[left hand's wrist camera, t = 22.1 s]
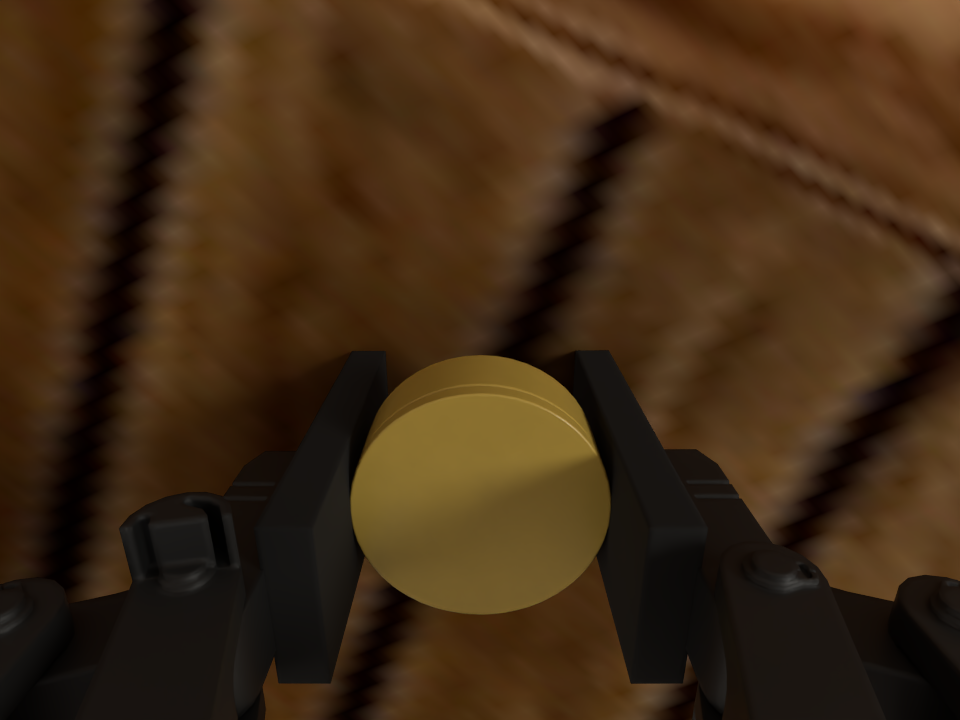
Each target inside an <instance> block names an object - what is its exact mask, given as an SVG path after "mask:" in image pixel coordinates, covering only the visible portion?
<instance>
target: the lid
mask: <svg viewBox="0 0 960 720" xmlns="http://www.w3.org/2000/svg"><path fill="white" fill-rule="evenodd" d="M350 507H351V518H352V527H353V530H354V533H355V536H356V539H357V541H358V543H359V545H360V547H361V549H362V551H363V553H364V555H365V556H366V558H367V559H368V561H369V562H370V564H371V565H372V566H373V567H374V568H375V570H376V571H377V572H378V573H379V574H380V575H381V576H382V577H383V578H384V579H385V580H386V581H388V582H389V583H390V584H391V585H392V586H393V587H395V588H396V589H398V590H399V591H401V592H402V593H404V594H405V595H407V596H409V597H411V598H413V599H415V600H417V601H419V602H421V603H424V604H427V605H429V606H432V607H435V608H439V609H442V610H446V611H450V612H457V613H463V614H480V615H481V614H498V613H504V612H511V611H515V610H519V609H523V608H526V607H529V606H532V605H534V604H537V603H540V602H542V601H544V600H546V599H548V598H550V597H552V596H554V595H556V594H557V593H559V592H560V591H562V590H563V589H565V588H566V587H568V586H569V585H570V584H571V583H572V582H574V581H575V580H576V579H577V578H578V577H579V576H580V575H581V574H582V573H583V572H584V571H585V570H586V569H587V567H588V566H589V565H590V564H591V562H592V561H593V559H594V558H595V556H596V555H597V553H598V552H599V550H600V548H601V545H602V543H603V541H604V539H605V536H606V533H607V530H608V527H609V521H610V512H611V491H610V484H609V480H608V477H607V474H606V470H605V467H604V465H603V462H602V459H601V456H600V453H599V450H598V448H597V445H596V442H595V439H594V436H593V433H592V431H591V428H590V425H589V422H588V420H587V418H586V416H585V414H584V412H583V410H582V408H581V407H580V405H579V404H578V402H577V401H576V400H575V398H574V397H573V396H572V395H571V394H570V393H569V392H568V390H567V389H566V388H565V387H564V386H562V385H561V384H560V383H559V382H558V381H556V380H555V379H554V378H552V377H551V376H549V375H548V374H546V373H544V372H543V371H541V370H539V369H537V368H535V367H533V366H531V365H528V364H526V363H523V362H520V361H516V360H513V359H509V358H504V357H498V356H485V355H475V356H463V357H457V358H452V359H448V360H444V361H441V362H438V363H435V364H432V365H430V366H428V367H426V368H424V369H422V370H420V371H418V372H416V373H415V374H413V375H412V376H410V377H409V378H407V379H406V380H405V381H403V382H402V383H401V384H400V385H399V386H398V387H396V388H395V389H394V390H393V392H392V393H391V394H390V395H389V396H388V397H387V398H386V400H385V401H384V402H383V404H382V405H381V407H380V408H379V410H378V412H377V414H376V416H375V418H374V420H373V422H372V425H371V428H370V431H369V433H368V436H367V439H366V442H365V445H364V447H363V450H362V453H361V456H360V459H359V461H358V464H357V467H356V470H355V473H354V477H353V480H352V484H351V491H350Z"/></svg>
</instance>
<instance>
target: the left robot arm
mask: <svg viewBox="0 0 960 720" xmlns="http://www.w3.org/2000/svg"><path fill="white" fill-rule="evenodd" d="M387 397H388V387H387V370H386V353H385V351H352V352H351V354H350V356H349V358H348V360H347V361H346V363H345V365H344V367H343V369H342V370H341V372H340V374H339V376H338V377H337V379H336V381H335V383H334V385H333V386H332V388H331V390H330V392H329V394H328V395H327V397H326V399H325V401H324V403H323V404H322V406H321V408H320V410H319V412H318V413H317V415H316V417H315V419H314V421H313V422H312V424H311V426H310V428H309V430H308V431H307V433H306V435H305V437H304V439H303V440H302V442H301V444H300V446H299V448H298V449H297V451H265V452H264V453H262V454H261V455H259V456H258V457H256V458H255V459H254V460H252V461H251V462H249V463H248V464H246V465H245V466H244V467H243V469H242V470H241V471H240V473H239V474H238V476H237V477H236V479H235V480H234V482H233V486H230V488H229V489H228V491H227V492H226V493H225V495H224V496H223V497H222V496H219V495H215V494H212V493H208V492H187V493H182V494H177V495H173V496H168V497H165V498H162V499H160V500H157V501H155V502H152V503H150V504H147V505H145V506H144V507H142V508H141V509H139V510H138V511H136V512H135V513H133V514H132V515H130V516H129V517H128V518H127V519H126V521H125V522H124V523H123V524H122V525H121V527H120V528H119V530H120V534H121V538H122V542H123V546H124V549H125V553H126V557H127V561H128V565H129V569H130V573H131V577H132V581H133V582H132V584H131V587H130V589H129V590H127V591H124V592H120V593H117V594H112V595H108V596H103V597H99V598H94V599H89V600H85V601H80V602H75V603H71V604H68V601H67V598H66V594H65V591H64V588H63V587H62V586H60V585H59V584H58V583H57V582H56V581H55V580H50V579H44V578H38V577H37V578H28V579H19V580H14V581H11V582H6V583H4V584H0V720H265V711H266V708H265V701H264V694H263V688H262V686H263V684H264V681H265V678H266V676H267V673H268V671H269V668H270V665H271V663H272V660H273V658H275V664H276V670H277V676H278V682H279V683H331V680H332V676H333V672H334V669H335V665H336V661H337V657H338V654H339V650H340V646H341V642H342V639H343V635H344V631H345V628H346V624H347V620H348V616H349V613H350V609H351V605H352V602H353V598H354V594H355V590H356V587H357V583H358V579H359V575H360V572H361V568H362V564H363V561H364V557H365V555H364V553H363V551H362V549H361V547H360V545H359V543H358V541H357V539H356V536H355V533H354V530H353V527H352V518H351V507H350V491H351V484H352V480H353V477H354V473H355V470H356V467H357V464H358V461H359V459H360V456H361V453H362V450H363V447H364V445H365V442H366V439H367V436H368V433H369V431H370V428H371V425H372V422H373V420H374V418H375V416H376V414H377V412H378V410H379V408H380V407H381V405H382V404H383V402H384V401H385V400H386V398H387ZM573 397H574V398H575V400H576V401H577V402H578V404H579V405H580V407H581V408H582V410H583V412H584V414H585V416H586V418H587V420H588V422H589V425H590V428H591V431H592V433H593V436H594V439H595V442H596V445H597V448H598V450H599V453H600V456H601V459H602V462H603V465H604V467H605V470H606V474H607V477H608V480H609V484H610V491H611V512H610V521H609V527H608V530H607V533H606V536H605V539H604V541H603V543H602V545H601V548H600V550H599V552H598V553H597V555H596V556H597V560H598V563H599V567H600V571H601V574H602V578H603V582H604V586H605V589H606V593H607V597H608V600H609V604H610V608H611V612H612V615H613V619H614V623H615V626H616V630H617V634H618V637H619V641H620V645H621V649H622V652H623V656H624V660H625V663H626V667H627V671H628V675H629V678H630V682H631V684H654V683H683V679H684V673H685V667H686V661H687V654H688V656H689V659H690V661H691V664H692V666H693V669H694V671H695V674H696V677H697V679H698V688H697V694H696V700H695V705H694V711H693V717H692V720H960V581H958V580H954V579H950V578H947V577H939V576H930V575H922V576H916V577H910V578H908V579H906V580H905V581H904V582H903V583H902V584H901V585H899V588H898V591H897V594H896V597H895V601H894V602H893V601H889V600H884V599H879V598H875V597H870V596H865V595H861V594H856V593H851V592H847V591H843V590H840V589H836V588H833V587H830V586H829V583H828V581H827V579H826V578H825V577H824V575H823V574H822V572H821V571H820V570H819V568H818V567H817V566H816V565H814V564H813V563H812V562H810V561H809V560H808V559H806V558H805V557H804V556H802V555H800V554H798V553H796V552H794V551H792V550H790V549H787V548H785V547H783V546H779V545H775V544H772V542H771V541H770V539H769V538H768V537H767V535H766V534H765V532H764V531H763V529H762V528H761V526H760V525H759V524H758V522H757V521H756V519H755V518H754V516H753V515H752V513H751V512H750V510H749V509H748V508H747V506H746V505H745V503H744V502H743V500H742V499H739V495H738V493H737V492H736V490H735V489H734V487H733V486H732V484H729V480H728V479H727V477H726V476H725V474H724V473H723V471H722V470H721V468H720V467H719V466H718V464H717V463H715V462H714V461H712V460H711V459H709V458H708V457H707V456H705V455H704V454H702V453H701V452H699V451H698V450H696V449H663V447H662V445H661V443H660V441H659V440H658V438H657V436H656V434H655V432H654V431H653V429H652V427H651V425H650V424H649V422H648V420H647V418H646V416H645V415H644V413H643V411H642V409H641V407H640V406H639V404H638V402H637V400H636V398H635V397H634V395H633V393H632V391H631V390H630V388H629V386H628V384H627V382H626V381H625V379H624V377H623V375H622V373H621V372H620V370H619V368H618V366H617V365H616V363H615V361H614V359H613V357H612V356H611V354H610V352H609V350H603V351H576V352H575V369H574V386H573Z"/></svg>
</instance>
